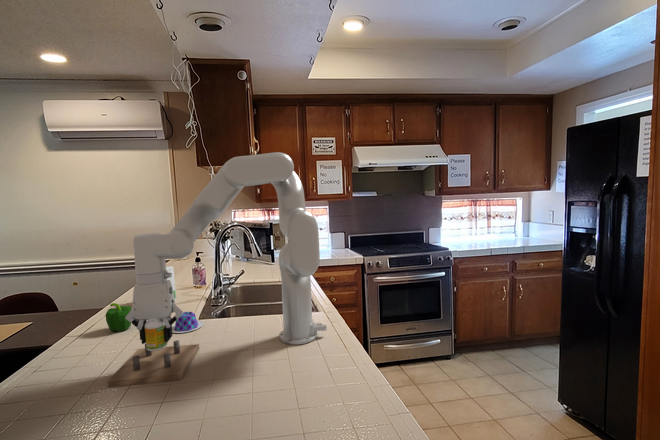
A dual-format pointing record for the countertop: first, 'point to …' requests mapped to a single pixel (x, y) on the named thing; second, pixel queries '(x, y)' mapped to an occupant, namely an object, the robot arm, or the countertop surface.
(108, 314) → the bell pepper
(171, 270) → the skincare box
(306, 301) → the robot arm
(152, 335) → the supplement bottle
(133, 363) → the peg cradle
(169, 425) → the countertop surface
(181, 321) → the pudding
